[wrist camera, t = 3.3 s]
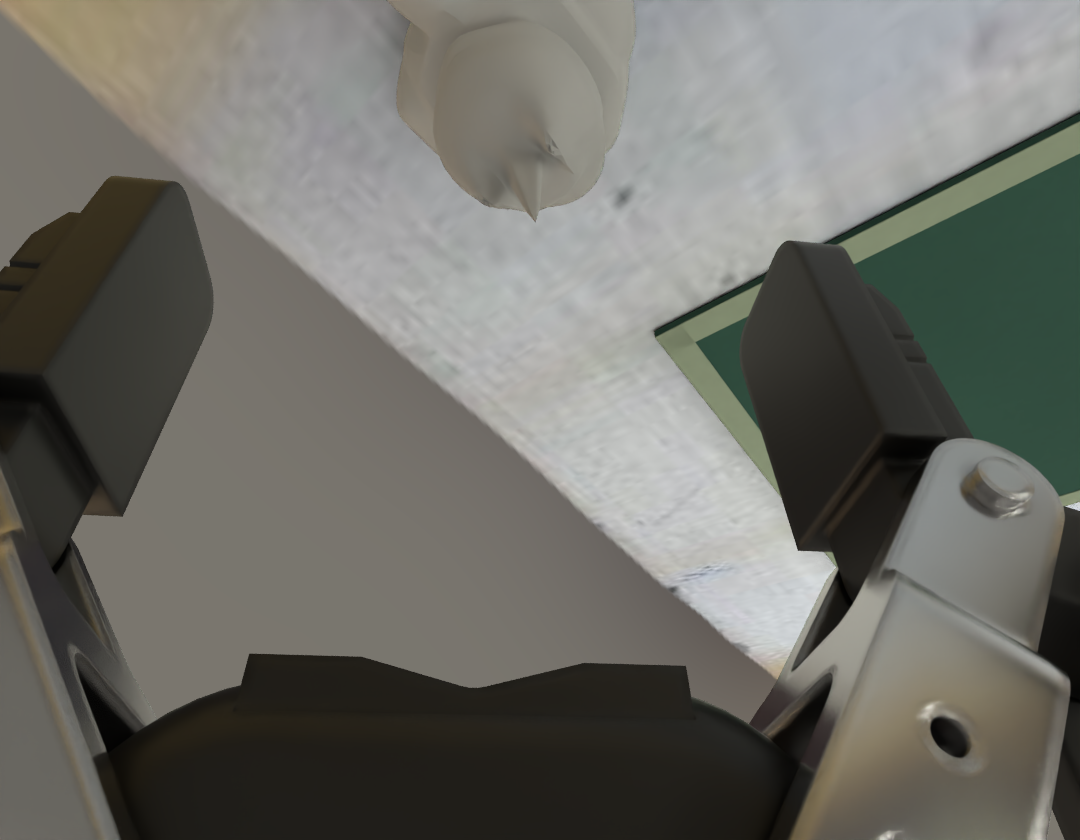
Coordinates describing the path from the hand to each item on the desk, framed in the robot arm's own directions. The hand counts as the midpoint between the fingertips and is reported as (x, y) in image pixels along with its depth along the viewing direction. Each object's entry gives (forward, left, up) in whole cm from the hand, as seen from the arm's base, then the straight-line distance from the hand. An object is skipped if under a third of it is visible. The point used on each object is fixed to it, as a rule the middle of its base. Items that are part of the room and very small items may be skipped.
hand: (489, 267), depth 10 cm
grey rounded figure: (0, 0, -10) cm, 10 cm away
